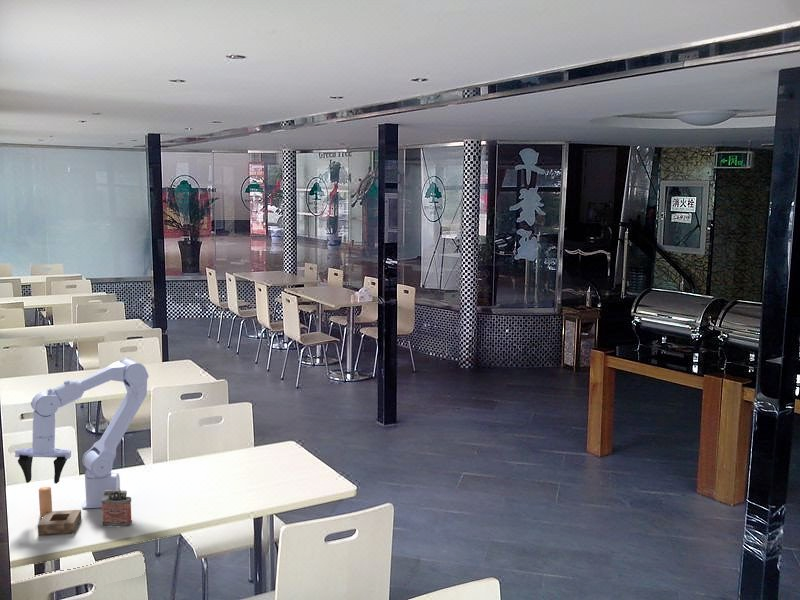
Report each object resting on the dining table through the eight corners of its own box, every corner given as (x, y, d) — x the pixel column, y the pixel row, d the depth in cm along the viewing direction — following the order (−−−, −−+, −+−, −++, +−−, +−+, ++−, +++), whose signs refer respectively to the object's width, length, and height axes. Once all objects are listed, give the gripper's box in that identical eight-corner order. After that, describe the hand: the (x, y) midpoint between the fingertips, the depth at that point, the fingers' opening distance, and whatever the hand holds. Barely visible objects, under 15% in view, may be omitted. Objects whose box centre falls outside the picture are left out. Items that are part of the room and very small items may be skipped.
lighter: (133, 521, 214) (132, 487, 213) (130, 526, 211) (128, 492, 209) (104, 521, 214) (103, 487, 212) (100, 526, 210) (99, 492, 209)
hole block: (81, 519, 215) (80, 509, 214) (73, 533, 206) (73, 523, 206) (47, 521, 213) (46, 511, 213) (38, 535, 204) (37, 525, 204)
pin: (53, 512, 219) (52, 486, 218) (50, 517, 216) (49, 490, 215) (41, 513, 219) (40, 486, 217) (38, 518, 215) (37, 491, 214)
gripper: (11, 438, 210) (10, 486, 211) (66, 440, 212) (64, 487, 213) (20, 431, 217) (20, 477, 218) (73, 433, 219) (72, 479, 220)
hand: (42, 481), depth 216 cm, fingers open, 7 cm apart
